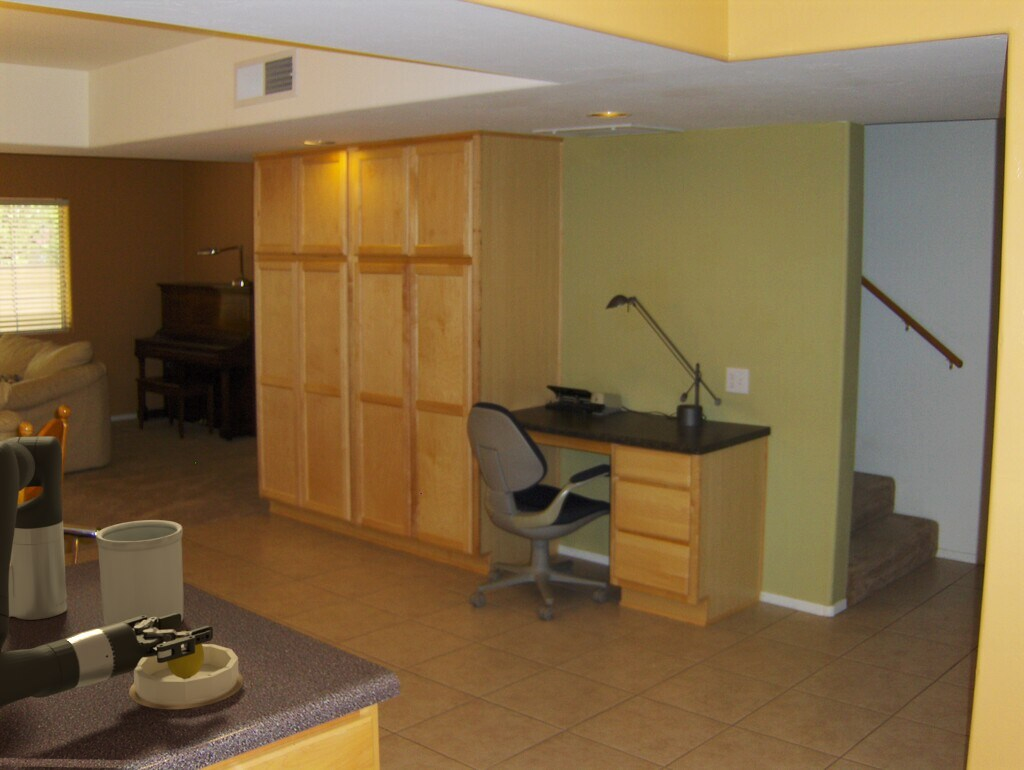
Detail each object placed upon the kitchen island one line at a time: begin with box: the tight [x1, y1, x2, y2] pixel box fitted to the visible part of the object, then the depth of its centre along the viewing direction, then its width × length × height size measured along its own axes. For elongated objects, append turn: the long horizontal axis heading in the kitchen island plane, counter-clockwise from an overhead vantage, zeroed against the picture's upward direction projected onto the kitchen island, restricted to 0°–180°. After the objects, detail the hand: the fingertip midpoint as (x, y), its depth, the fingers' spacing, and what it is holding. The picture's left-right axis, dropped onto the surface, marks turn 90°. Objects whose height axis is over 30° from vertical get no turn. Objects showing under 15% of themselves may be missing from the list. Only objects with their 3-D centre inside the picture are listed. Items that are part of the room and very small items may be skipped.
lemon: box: [167, 630, 204, 679], centre depth 166 cm, size 6×6×8 cm
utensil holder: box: [95, 519, 184, 626], centre depth 194 cm, size 15×15×18 cm
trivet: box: [128, 671, 244, 710], centre depth 167 cm, size 17×17×1 cm
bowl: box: [133, 643, 240, 706], centre depth 166 cm, size 15×15×4 cm
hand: (195, 625), depth 167 cm, fingers open, 8 cm apart
